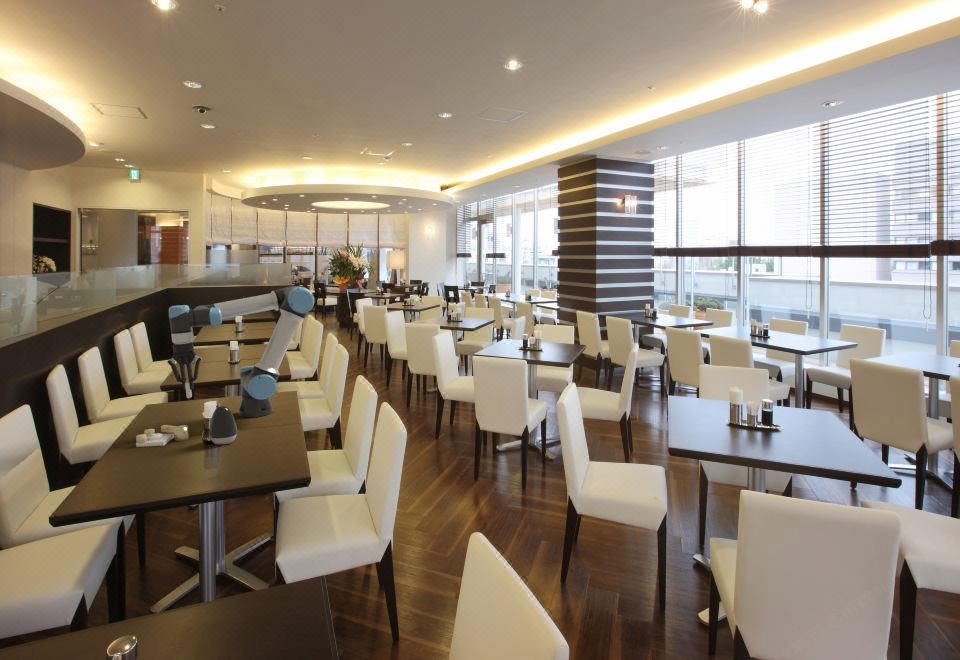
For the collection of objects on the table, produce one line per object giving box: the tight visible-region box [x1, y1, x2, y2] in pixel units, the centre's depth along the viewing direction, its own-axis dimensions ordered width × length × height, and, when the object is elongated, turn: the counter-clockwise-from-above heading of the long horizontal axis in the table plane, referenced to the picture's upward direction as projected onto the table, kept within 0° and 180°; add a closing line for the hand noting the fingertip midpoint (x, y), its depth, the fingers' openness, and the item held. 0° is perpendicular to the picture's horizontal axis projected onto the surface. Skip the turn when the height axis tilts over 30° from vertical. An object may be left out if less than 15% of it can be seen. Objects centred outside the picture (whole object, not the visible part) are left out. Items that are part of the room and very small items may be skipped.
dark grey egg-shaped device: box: [208, 405, 238, 445], centre depth 216 cm, size 10×10×15 cm
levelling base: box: [135, 428, 175, 448], centre depth 218 cm, size 10×14×4 cm
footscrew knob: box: [160, 424, 189, 442], centre depth 220 cm, size 12×5×5 cm, turn 72°
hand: (189, 397), depth 230 cm, fingers closed
